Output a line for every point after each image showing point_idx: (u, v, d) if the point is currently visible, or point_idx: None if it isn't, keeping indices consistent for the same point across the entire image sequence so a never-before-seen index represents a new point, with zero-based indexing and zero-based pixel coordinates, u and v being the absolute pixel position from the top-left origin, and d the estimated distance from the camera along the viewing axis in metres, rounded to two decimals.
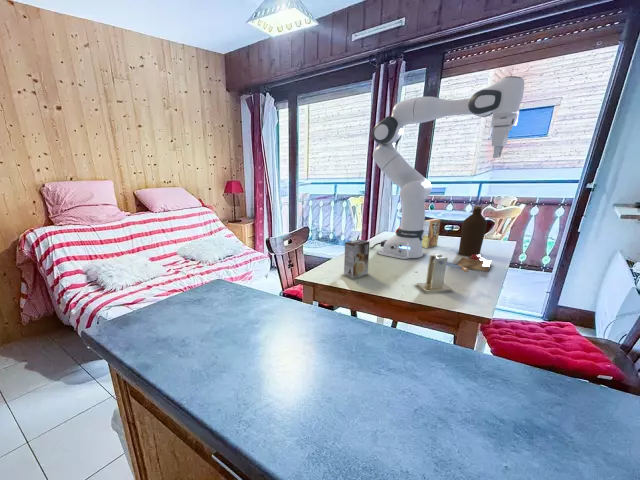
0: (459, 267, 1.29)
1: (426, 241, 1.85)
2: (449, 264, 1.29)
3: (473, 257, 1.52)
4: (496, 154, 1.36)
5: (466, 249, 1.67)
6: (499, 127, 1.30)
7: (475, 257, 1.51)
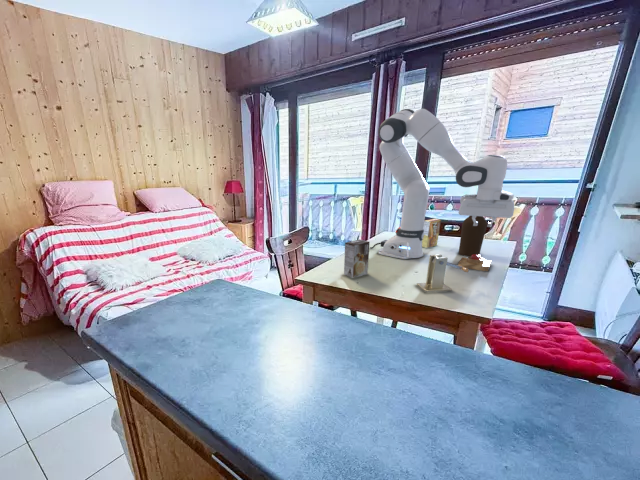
0: (459, 267, 1.29)
1: (426, 241, 1.85)
2: (449, 264, 1.29)
3: (473, 257, 1.52)
4: None
5: (466, 249, 1.67)
6: (512, 200, 1.37)
7: (475, 257, 1.51)
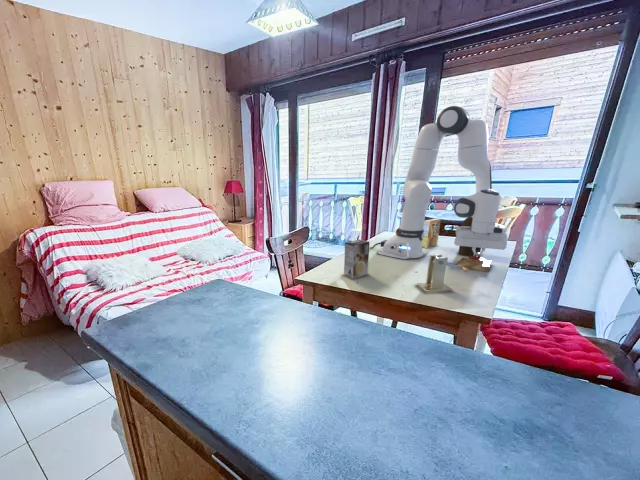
0: (459, 267, 1.29)
1: (426, 241, 1.85)
2: (449, 264, 1.29)
3: (473, 258, 1.52)
4: (481, 253, 1.51)
5: (466, 249, 1.67)
6: (505, 233, 1.43)
7: (475, 258, 1.52)
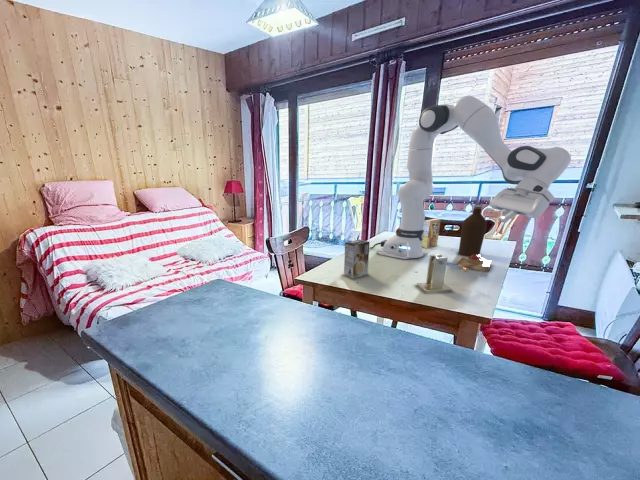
0: (459, 267, 1.29)
1: (426, 241, 1.85)
2: (449, 264, 1.29)
3: (473, 257, 1.52)
4: (507, 219, 1.24)
5: (466, 249, 1.67)
6: (545, 198, 1.15)
7: (475, 257, 1.51)
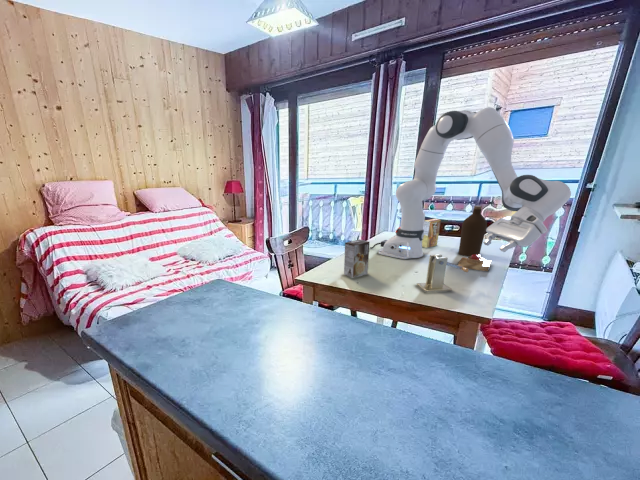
0: (459, 267, 1.29)
1: (426, 241, 1.85)
2: (449, 264, 1.29)
3: (473, 257, 1.52)
4: (506, 248, 1.21)
5: (466, 249, 1.67)
6: (537, 229, 1.15)
7: (475, 257, 1.51)
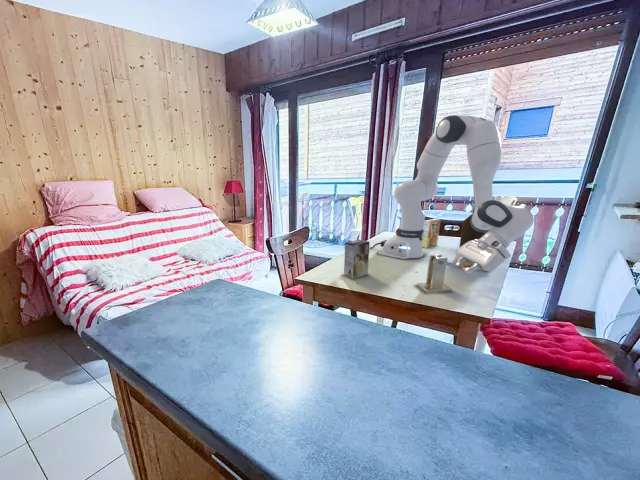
0: (459, 267, 1.29)
1: (426, 241, 1.85)
2: (449, 264, 1.29)
3: None
4: (470, 271, 1.26)
5: None
6: (500, 254, 1.19)
7: None
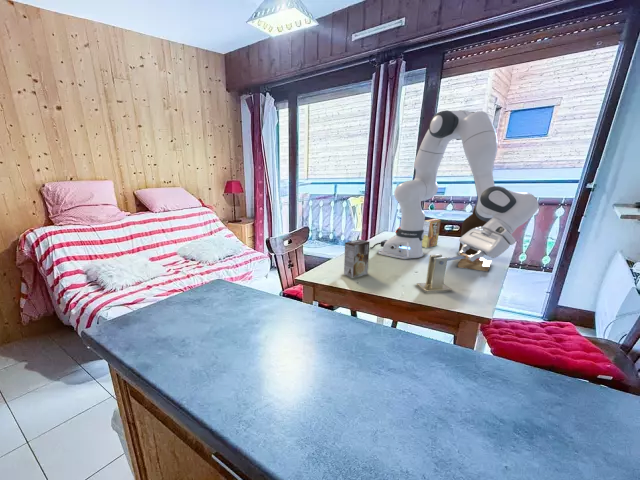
0: (462, 257, 1.27)
1: (426, 241, 1.85)
2: (451, 259, 1.28)
3: None
4: (474, 258, 1.24)
5: None
6: (505, 240, 1.17)
7: None
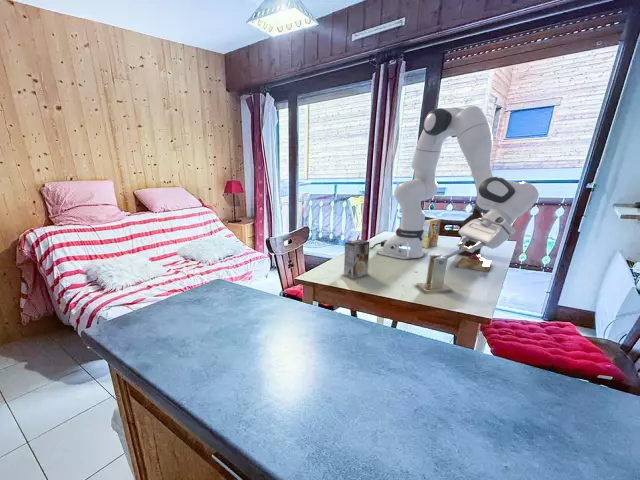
0: (461, 250, 1.26)
1: (426, 241, 1.85)
2: (450, 255, 1.27)
3: (473, 257, 1.52)
4: (473, 249, 1.22)
5: None
6: (504, 230, 1.15)
7: (475, 257, 1.51)
